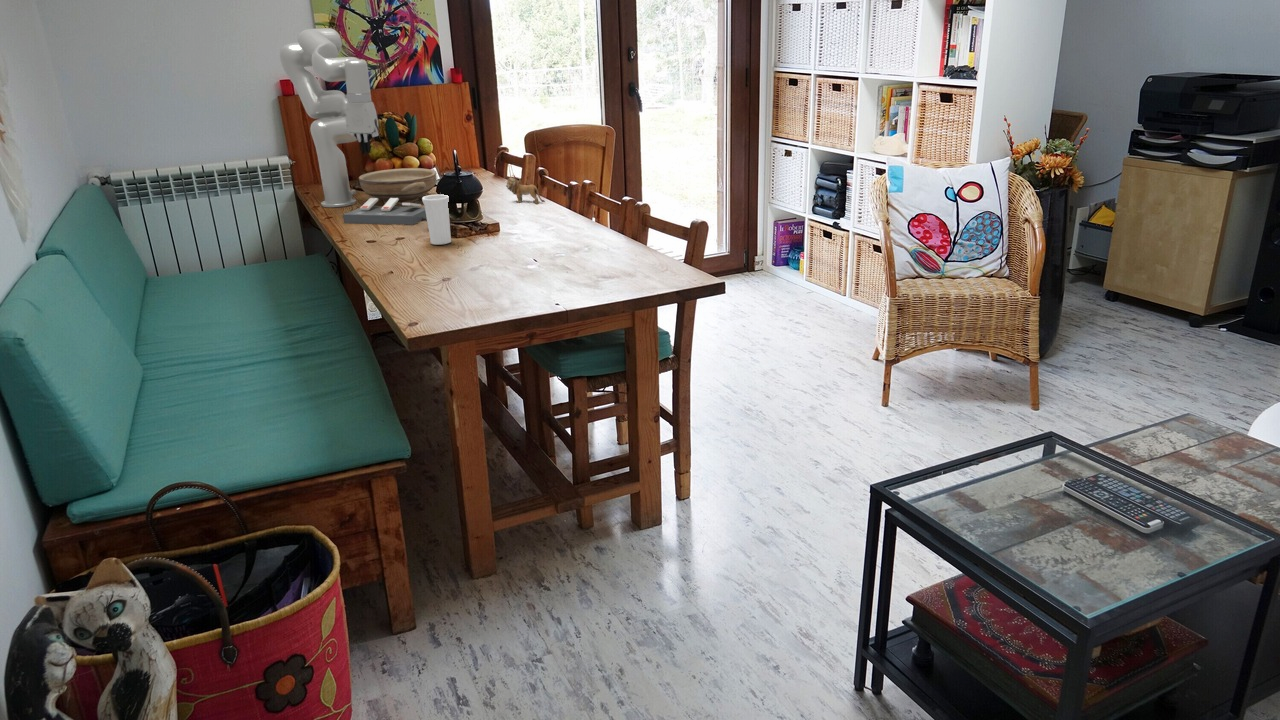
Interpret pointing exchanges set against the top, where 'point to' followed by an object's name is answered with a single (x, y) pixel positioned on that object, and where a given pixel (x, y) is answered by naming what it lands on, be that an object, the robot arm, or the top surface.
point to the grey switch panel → (386, 215)
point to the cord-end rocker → (411, 204)
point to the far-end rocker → (369, 204)
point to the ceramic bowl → (398, 184)
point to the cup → (438, 218)
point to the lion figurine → (522, 190)
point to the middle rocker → (389, 204)
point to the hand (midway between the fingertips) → (366, 153)
